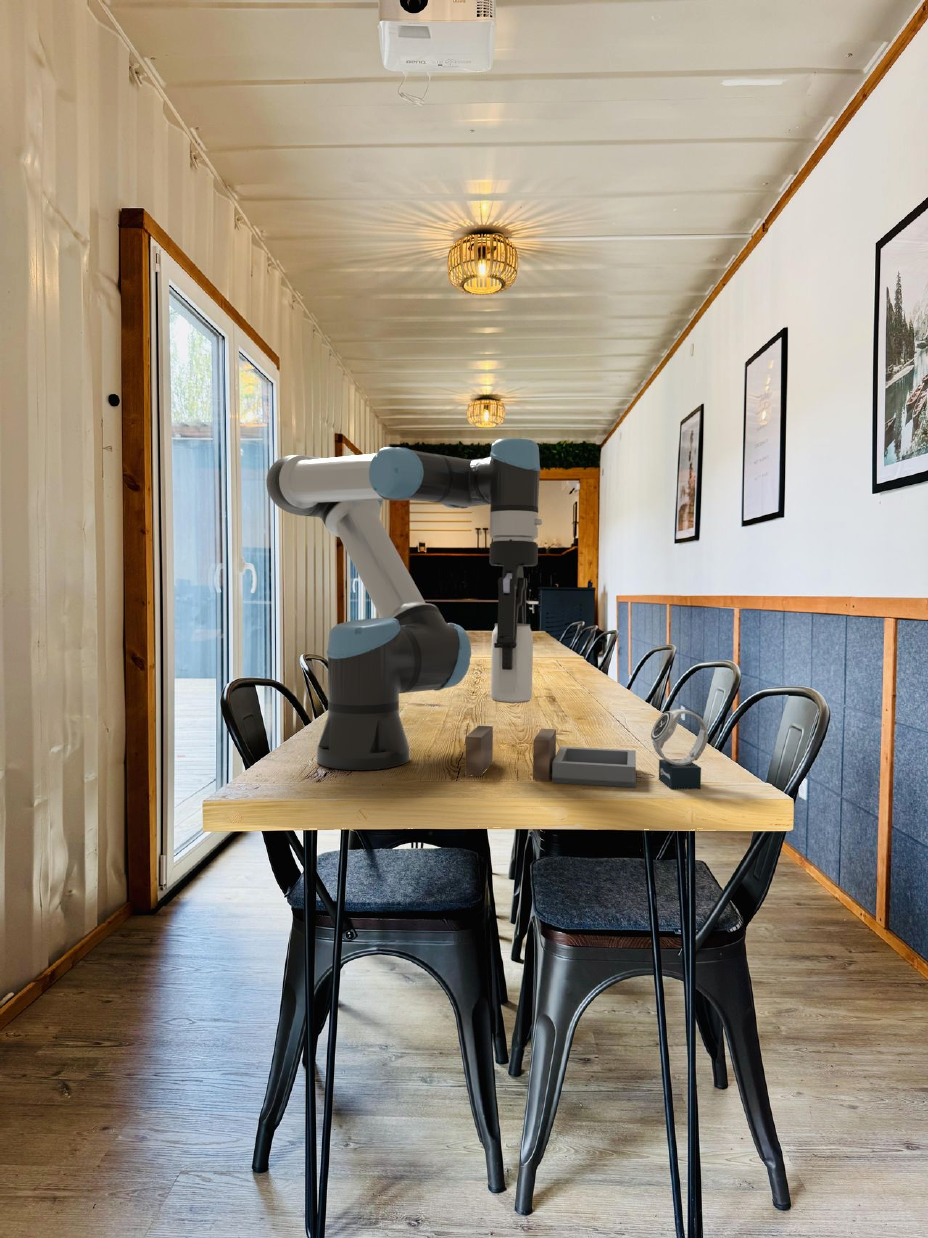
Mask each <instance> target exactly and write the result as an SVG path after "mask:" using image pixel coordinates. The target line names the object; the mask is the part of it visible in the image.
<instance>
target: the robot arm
mask: <svg viewBox="0 0 928 1238" xmlns="http://www.w3.org/2000/svg"><path fill="white" fill-rule="evenodd" d="M539 450H540V447H539V445H538V444H537V442H535V441H534V440H531V439H527V438H521V437H520V438H519V437H518V438H517V437H509V438H501V439H497V440H496V441H494V442H493V443H492V444H491V450H490V453H489V456H488V457H485V458H475V459H466V458H460V457H456V456H454V457H453V456H447V455H442V454H437V453H429V452H423V451H420V450H419V451H417V450H413V449H409V448H408V447H392V446H385V447H382V448H380V449H379V450H378V452H377V453H368V454H367V453H366V454H359V455H348V456H338V457H328V458H324V457H317V456H312V455H311V456H309V455H305V454H304V455H303V454H301V455H300V454H299V455H298V454H292V455H287V456H286V455H285V456H283V457H280V458H279V459H277V460H276V461H275V462H273V464H272V465H271V466H270V468H269V470H268V472H267V475H266V483H265V484H266V489H267V494H268V495H269V497H270V499H271V501H272V502H273V503H274V504H275V505H276V506H277V507H278V508H280V509H281V510H283V511H284V512H286V513H289V514H292V515H296V516H300V517H301V516H302V517H303V516H304V517H314V518H319V519H321V520H322V522H323V524H324V526H325V528H326V530H327V532H328V533H329V534H331V535H332V536H333V537H337V538H340V540H341V543H342V545H343V547H344V548H345V551H346V554H348V557H349V559H350V560H351V562H352V565H353V566H354V568H355V570H356V573H357V574H358V577H359V578H360V580H361V582H362V584H363V587H364V588H365V590H366V592H367V594H368V596H369V598H370V600H371V602H372V604H373V606H374V608H375V610H376V612H377V614H378V615H379V617H374V618H373V617H372V618H364V619H354V620H350V621H345V622H341V623H338V624H336V625H334V626H333V627H332V628H331V629H330V631H329V634H328V644H327V649H326V656H327V704H328V705H327V717H326V719H325V720H326V721H325V724H324V726H323V729H322V733H321V736H320V739H319V742H318V745H317V748H316V749H317V750H316V757H317V758H316V761H317V763H318V764H319V765H320V766H323V767H326V768H329V769H336V770H346V771H369V770H370V771H371V770H382V769H390V768H394V767H398V766H402V765H404V764H407V762H409V761H410V746H409V742H408V738H407V736H406V732H405V730H404V725H403V723H402V720H401V717H400V700H399V699H400V694H408V693H415V692H426V691H428V692H429V691H435V692H437V691H441V690H444V689H448V688H452V687H455V686H458V684H460V682H461V681H462V680H463V679H464V678H465V677H466V675H467V673H468V670H469V668H470V665H471V658H472V645H471V640H470V637H469V635H468V633H467V632H466V630H465V629H464V628H463V627H462V626H461V625H459V624H456V623H453V622H448V623H447V622H446V621H445V618H444V617H443V615H442V614H441V611H440V610H439V608H438V607H437V606H436V605H435V604H432V603H428V602H427V603H426V602H425V600H424V598H423V596H422V594H421V592H420V591H419V589H418V587H417V585H416V584H415V581H414V580H413V578H412V575H411V574H410V573H409V570H408V569H407V567H406V566H405V563H404V561H403V560H402V558H401V556H400V554H399V552H398V550H397V549H396V547H395V545H394V543H393V541H392V539H391V537H390V536H389V534H388V532H387V531H386V528H385V527H384V525H383V523H382V521H381V520H380V514H381V509H382V505H383V501H416V502H427V503H433V504H440V505H441V504H442V505H443V506H445V507H447V508H452V509H455V508H456V509H468V508H471V507H472V508H473V507H478V506H479V507H481V506H486V505H487V506H488V505H490V508H489V509H490V511H489V537H490V539H492V540H493V541H491V543H490V544H489V564H490V565H491V566H495V567H497V566H498V567H503V568H502V576H501V577H499V578H498V580H497V585H498V587H497V588H498V589H497V590H498V599H497V600H498V601H497V602H498V603H497V605H498V607H497V623H498V628H497V643H494V648H499V691H517V651H518V648H516V646H517V643H516V637H517V623H521V624H527V588H528V578H527V577H524V567H536V566H537V565H538V559H539V558H538V557H539V552H538V551H539V544H538V543H537V541H536V542H535V541H534V540H536V539H537V538H538V537H539V536H538V535H539V527H538V526H541V525H542V524H543V521H542V519H541V518H539V494H540V493H539V491H540V490H539V489H540V474H541V466H540V451H539Z"/></svg>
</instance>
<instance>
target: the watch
mask: <svg viewBox="0 0 928 1238" xmlns="http://www.w3.org/2000/svg"><path fill="white" fill-rule="evenodd" d="M683 714H685V715H691V716H692V717H694V718H695V720H696V721H697V722H698V725H699V726H700V729H699V732H698V734H697V737H696V740H695V743H694V744H693V746H692V747H691V750H690V751H689V752H688V756H686V757H684V758H680V759H677V758H674V759H671V758H670V759H669V758H667V757H666V755H665V754H664V753H663V752H662V749H663V747H664V746H665V743H666V742H667V741H669V739H670V738H671V737H672V736H673V734H674V733H675V731H676V728H677V725H678V720H679V719H680V718H681V716H682V715H683ZM708 731H709V730H708V726H707V724H706V722H705V721H704V719H703V718H702V717H701V716H700V715H698V714H696V713H694V712H693V711H690V710H688V709H683V708H679V709H678V708H676V709H671V710H670V711H669V710H668V711H665V712H663V713H662V714H661V715H660V716H659V717H658V718H657V719H656V721H655V723H654V725H653V727H652V730H651V734H650V738H651V739H650V740H652V745H653V748H654V751H655V752H656V754H657V755H658V756H659V757H660V758H662V759H659V760H658V781H659V780H660V781H659V782H661V783H662V782H663V783H664V784H663V783H662V784H663V785H665V786H666V787H668V788H669V789H670V790H701V788H702V787H701V786H702V784H701V783H702V780H701V779H702V767H701V766H699V765H697V764H696V763H694V762H695V761H698V760H699V758H700V757H701V755H702V753H703V752H704V750H705V749H706V747H707V743H708V741H709V737H708V736H709V734H708V733H709V732H708Z"/></svg>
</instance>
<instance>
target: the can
mask: <svg viewBox="0 0 928 1238" xmlns="http://www.w3.org/2000/svg"><path fill="white" fill-rule="evenodd" d="M497 628H498V622H497V623H494V629H493V631H492V633H491V651H490V652H491V654H490V655H491V657H490V659H491V660H490V664H491V665H490V698H491V699H492V701H494V702H497V703H504V704H523V703H529V702H530V701H531V700H532V698H533V696H532V695H533V665H534V664H533V663H534V661H533V658H534V657H533V656H534V652H533V650H534V635H533V631H532V628H531V624H530V623H526V624H521V623H517V637H516V643H517V646H516V648H518V651H517V691H499V648H494V643H497Z"/></svg>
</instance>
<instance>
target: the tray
mask: <svg viewBox="0 0 928 1238" xmlns="http://www.w3.org/2000/svg"><path fill="white" fill-rule="evenodd" d="M636 751H637V750H635V749H633V750H632V749H617V748H615V749H614V748H595V747H593V748H592V747H575V746H573V747H572V746H560V747H559V748H558V751H556V756H555V758H554V761H553V768H552V775H551V780H552V783H553V784H569V785H583V784H585V785H584V786H601V787H616V788H619V787H621V788H632V789H633V788H634V789H635V788H636V785H637V784H636V783H637V782H636V781H637V779H636V774H637V773H636V772H637V771H636V770H637V768H636V767H637V766H636V765H637V761H636V760H637V756H636V754H637V753H636Z"/></svg>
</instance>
